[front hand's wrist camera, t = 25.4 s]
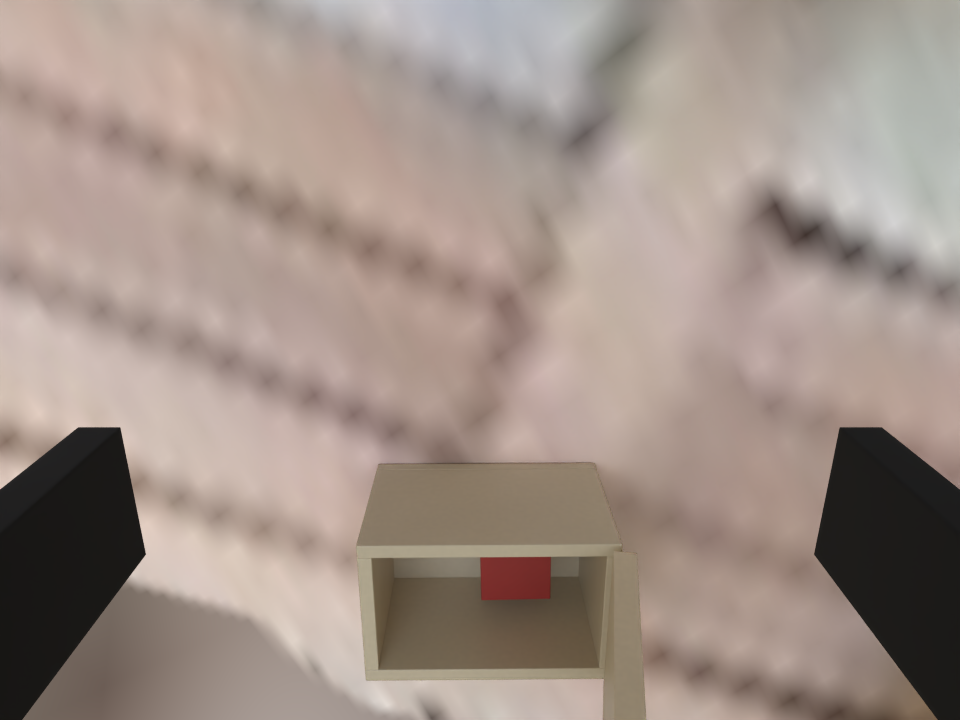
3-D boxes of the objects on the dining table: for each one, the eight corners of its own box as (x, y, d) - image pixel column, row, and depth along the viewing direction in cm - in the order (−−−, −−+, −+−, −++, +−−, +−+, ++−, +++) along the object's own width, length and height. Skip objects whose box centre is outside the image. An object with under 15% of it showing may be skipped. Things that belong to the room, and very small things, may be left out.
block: (481, 600, 45) (550, 599, 45) (479, 541, 44) (551, 540, 44) (480, 558, 50) (543, 557, 50) (479, 503, 48) (544, 502, 48)
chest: (384, 579, 51) (365, 681, 42) (378, 463, 48) (355, 546, 39) (587, 578, 51) (611, 679, 42) (594, 462, 48) (622, 544, 39)
